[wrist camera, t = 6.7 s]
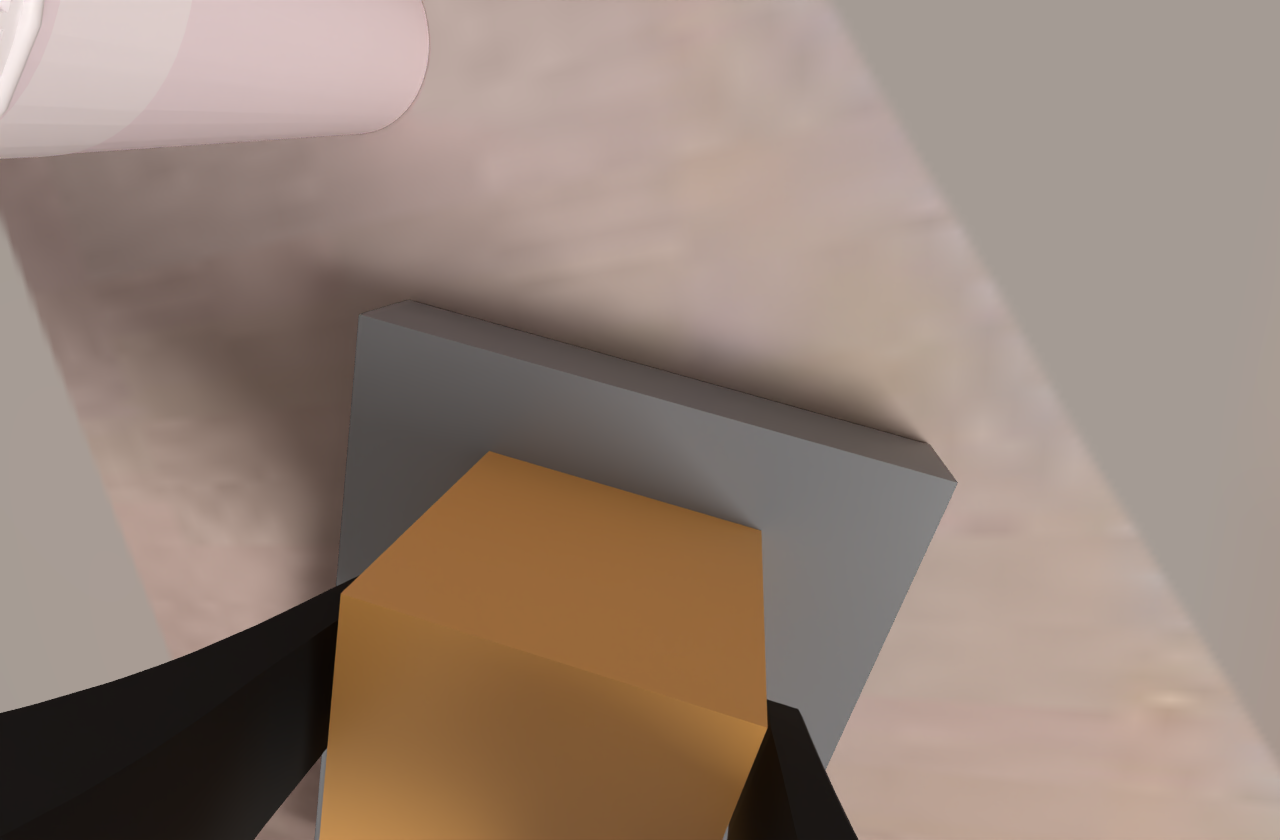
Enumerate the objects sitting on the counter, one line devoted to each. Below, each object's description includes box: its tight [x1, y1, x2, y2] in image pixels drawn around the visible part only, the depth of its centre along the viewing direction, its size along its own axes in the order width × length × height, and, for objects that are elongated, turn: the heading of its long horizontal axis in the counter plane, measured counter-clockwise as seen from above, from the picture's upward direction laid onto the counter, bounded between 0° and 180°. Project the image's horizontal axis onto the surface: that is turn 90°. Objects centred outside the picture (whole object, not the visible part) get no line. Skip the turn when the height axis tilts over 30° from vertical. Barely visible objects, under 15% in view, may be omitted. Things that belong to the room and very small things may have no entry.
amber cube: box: [319, 451, 768, 840], centre depth 12 cm, size 6×6×5 cm
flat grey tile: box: [315, 300, 958, 840], centre depth 15 cm, size 18×12×5 cm, turn 166°
